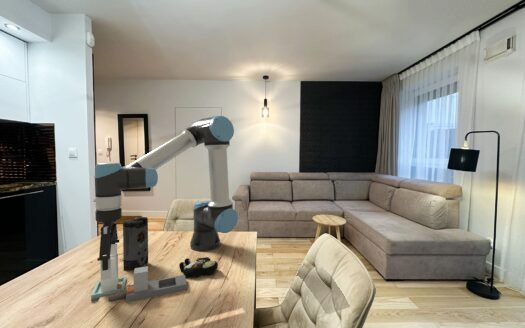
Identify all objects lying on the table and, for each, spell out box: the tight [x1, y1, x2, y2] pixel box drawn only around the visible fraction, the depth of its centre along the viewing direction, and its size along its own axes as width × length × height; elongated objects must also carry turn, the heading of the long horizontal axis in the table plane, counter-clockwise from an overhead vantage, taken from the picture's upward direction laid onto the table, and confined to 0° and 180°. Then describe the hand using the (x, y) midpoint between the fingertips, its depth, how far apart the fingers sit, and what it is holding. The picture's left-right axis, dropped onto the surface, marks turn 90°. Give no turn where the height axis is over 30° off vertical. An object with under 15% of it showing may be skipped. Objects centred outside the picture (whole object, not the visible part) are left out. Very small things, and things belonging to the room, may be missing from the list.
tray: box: [90, 276, 127, 302], centre depth 82 cm, size 9×9×2 cm
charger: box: [100, 253, 119, 292], centre depth 82 cm, size 4×4×11 cm
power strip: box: [108, 265, 188, 304], centre depth 80 cm, size 23×7×9 cm, turn 114°
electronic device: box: [122, 216, 149, 272], centre depth 100 cm, size 9×6×20 cm, turn 168°
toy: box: [178, 256, 219, 278], centre depth 95 cm, size 12×8×15 cm
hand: (109, 269), depth 82 cm, fingers open, 13 cm apart
